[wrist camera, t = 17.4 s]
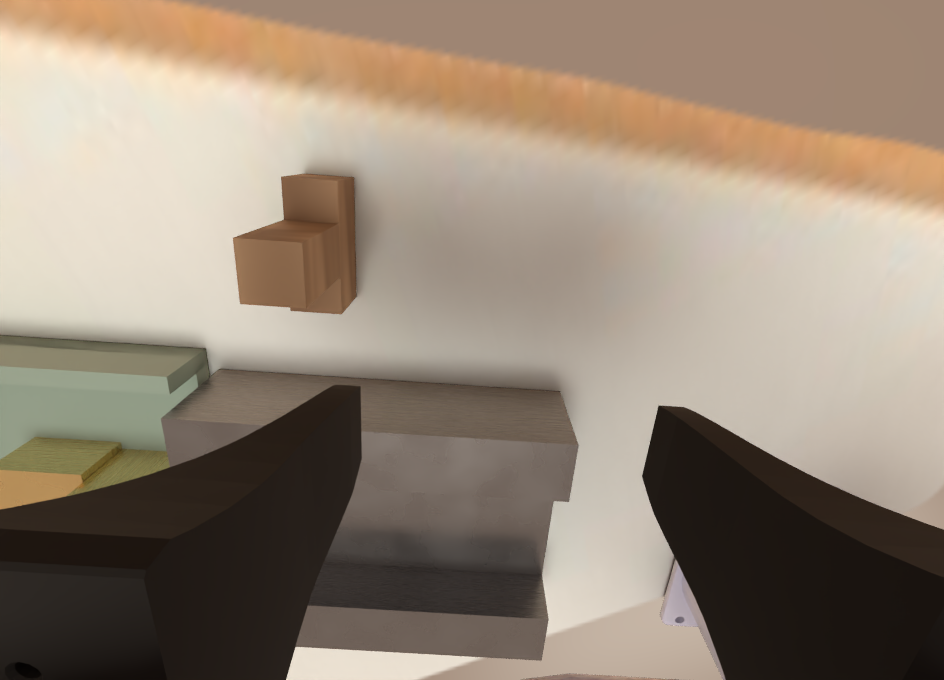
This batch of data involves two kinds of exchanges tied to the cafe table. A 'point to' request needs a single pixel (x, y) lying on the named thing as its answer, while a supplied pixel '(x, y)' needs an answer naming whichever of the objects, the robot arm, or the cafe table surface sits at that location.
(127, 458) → the tan square block
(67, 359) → the tray
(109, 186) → the cafe table surface
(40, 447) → the tan wooden square block
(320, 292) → the stepped wooden block
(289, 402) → the grey open tray
